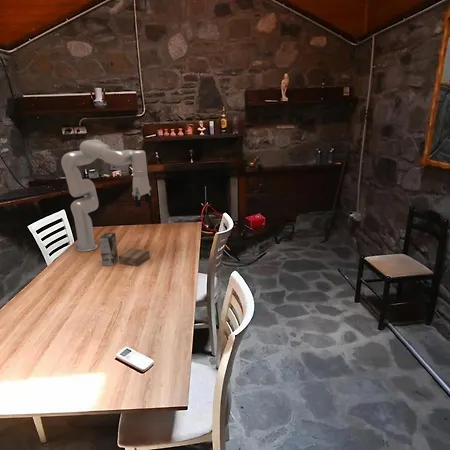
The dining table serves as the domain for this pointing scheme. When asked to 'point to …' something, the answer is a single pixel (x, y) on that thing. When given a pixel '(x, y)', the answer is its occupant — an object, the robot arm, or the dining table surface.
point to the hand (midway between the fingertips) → (143, 204)
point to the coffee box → (108, 249)
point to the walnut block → (134, 257)
